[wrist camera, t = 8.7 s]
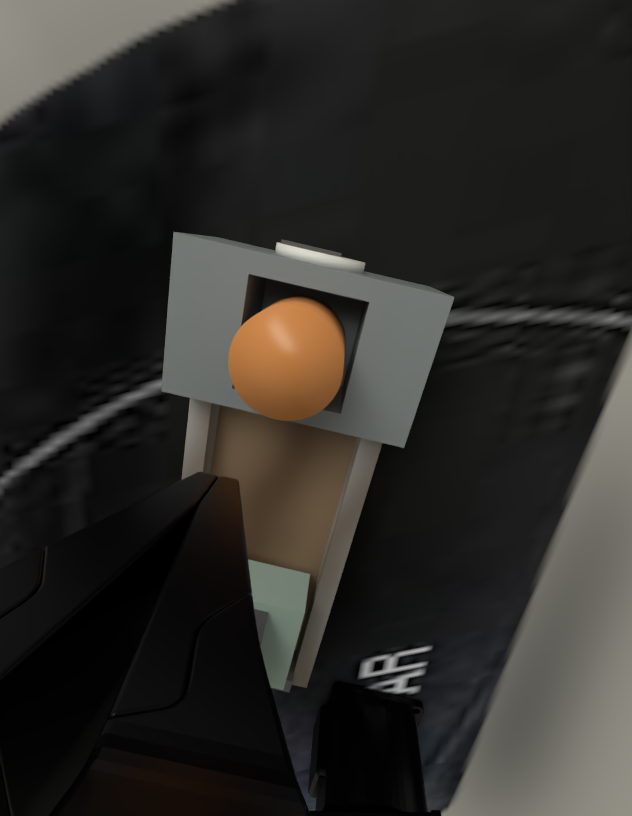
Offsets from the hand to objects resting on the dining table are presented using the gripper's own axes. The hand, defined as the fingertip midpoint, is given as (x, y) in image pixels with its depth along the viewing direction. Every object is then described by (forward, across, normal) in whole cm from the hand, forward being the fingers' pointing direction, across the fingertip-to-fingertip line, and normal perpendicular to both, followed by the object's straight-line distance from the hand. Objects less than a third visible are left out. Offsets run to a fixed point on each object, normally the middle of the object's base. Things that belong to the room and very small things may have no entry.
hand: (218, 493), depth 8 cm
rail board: (+12, 0, +11) cm, 16 cm away
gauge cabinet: (+13, 0, -1) cm, 13 cm away
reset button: (+9, 0, -1) cm, 9 cm away
